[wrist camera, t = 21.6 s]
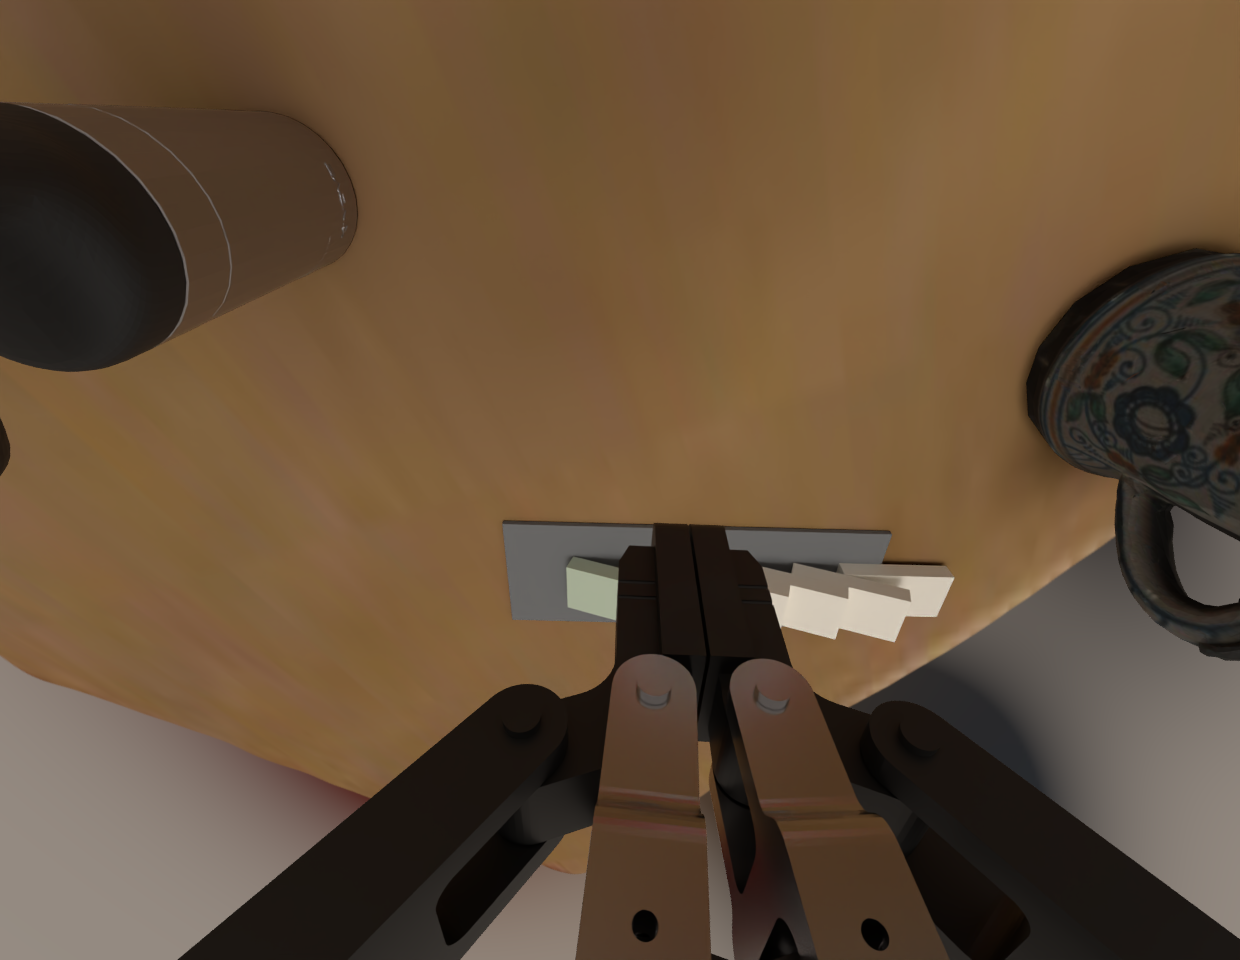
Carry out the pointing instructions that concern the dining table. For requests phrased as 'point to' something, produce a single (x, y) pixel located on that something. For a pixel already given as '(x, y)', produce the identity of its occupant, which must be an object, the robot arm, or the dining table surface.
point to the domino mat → (551, 545)
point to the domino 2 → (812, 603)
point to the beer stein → (1154, 419)
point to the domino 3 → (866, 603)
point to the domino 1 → (592, 587)
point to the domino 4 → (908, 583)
